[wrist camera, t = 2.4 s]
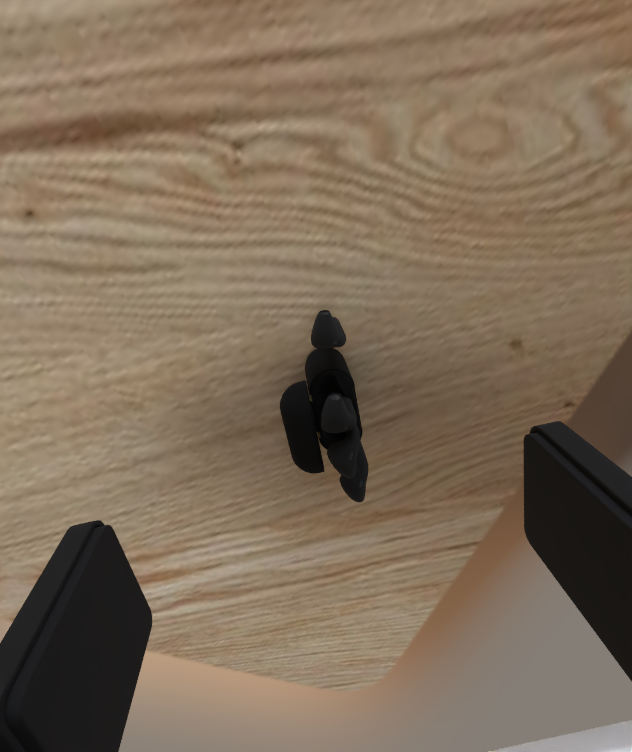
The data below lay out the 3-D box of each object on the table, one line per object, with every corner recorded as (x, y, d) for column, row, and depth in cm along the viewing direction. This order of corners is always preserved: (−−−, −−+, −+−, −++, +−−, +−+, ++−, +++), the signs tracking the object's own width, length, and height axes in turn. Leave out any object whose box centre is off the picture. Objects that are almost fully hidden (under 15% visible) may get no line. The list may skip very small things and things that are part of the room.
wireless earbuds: (360, 450, 19) (386, 533, 14) (302, 462, 19) (310, 549, 14) (331, 288, 16) (352, 326, 12) (263, 302, 16) (258, 346, 12)
